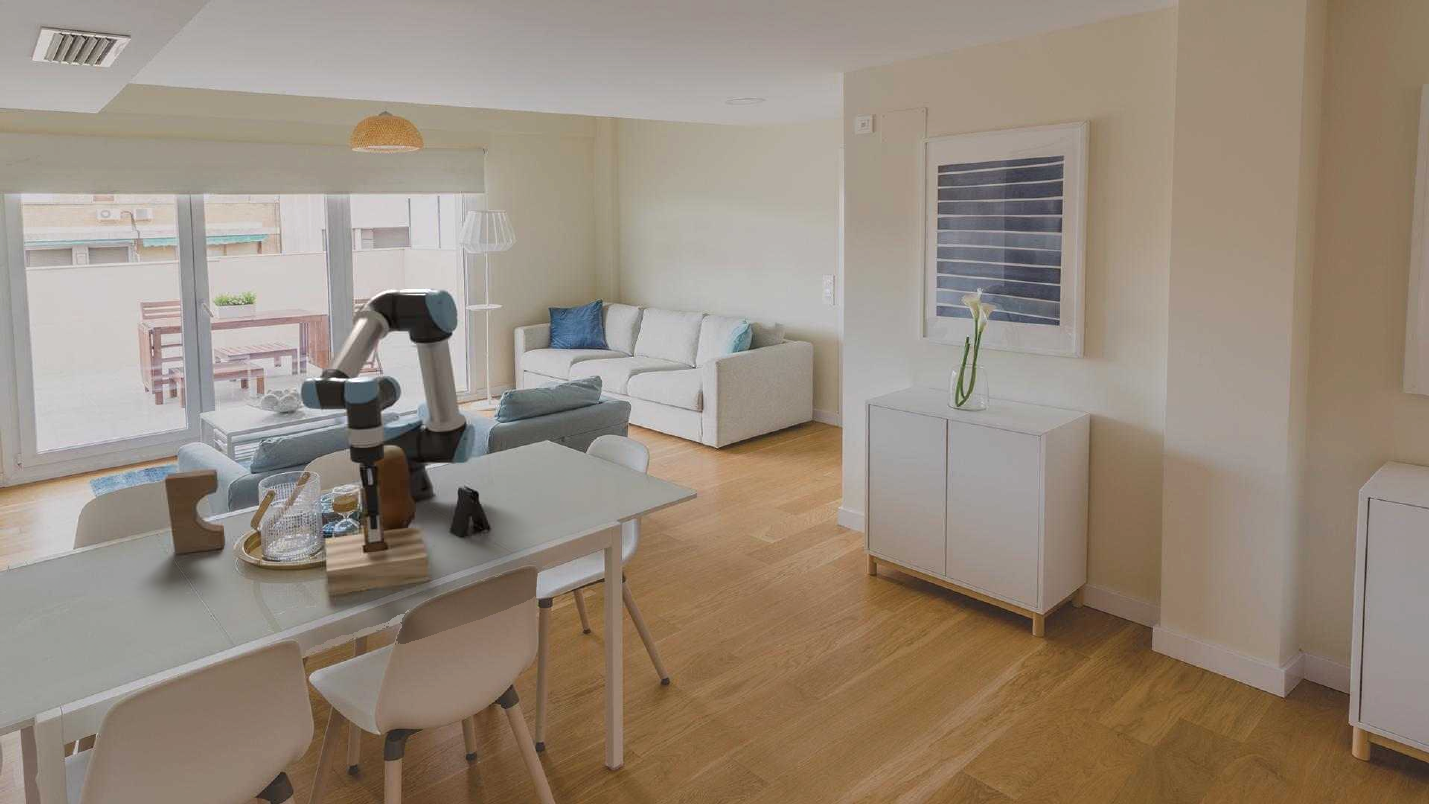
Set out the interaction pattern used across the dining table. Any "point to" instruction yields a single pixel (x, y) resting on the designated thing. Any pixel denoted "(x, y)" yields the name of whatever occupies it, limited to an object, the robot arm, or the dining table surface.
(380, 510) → the leg
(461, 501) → the black a-frame stand
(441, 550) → the dining table surface
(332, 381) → the robot arm
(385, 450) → the butternut squash
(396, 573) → the seat block
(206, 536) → the decorative block
